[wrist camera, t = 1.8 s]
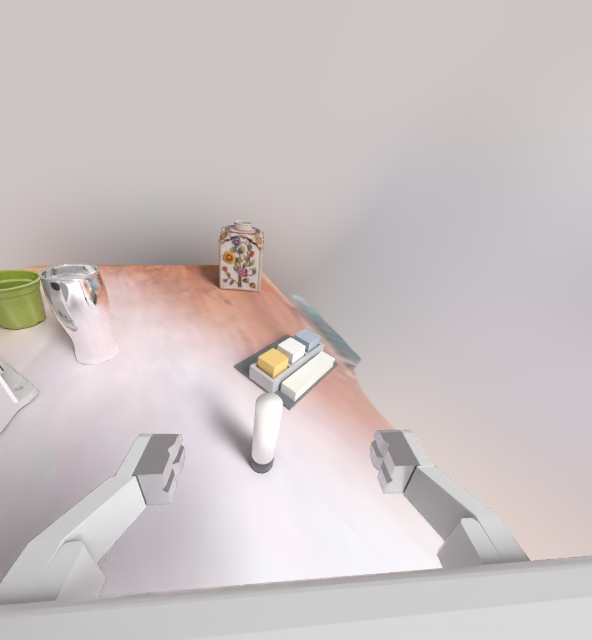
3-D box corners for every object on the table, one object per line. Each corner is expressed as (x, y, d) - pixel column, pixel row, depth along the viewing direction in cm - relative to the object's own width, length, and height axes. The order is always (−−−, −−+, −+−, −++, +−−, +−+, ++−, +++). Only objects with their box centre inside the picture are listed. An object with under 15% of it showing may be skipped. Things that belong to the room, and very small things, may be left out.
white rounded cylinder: (246, 462, 31) (250, 403, 25) (262, 446, 33) (269, 388, 27) (262, 478, 29) (269, 419, 24) (277, 461, 31) (288, 403, 26)
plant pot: (-13, 316, 47) (-38, 273, 42) (54, 305, 53) (38, 266, 48) (-15, 341, 41) (-44, 295, 37) (60, 325, 47) (43, 284, 43)
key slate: (292, 347, 49) (294, 334, 47) (303, 340, 51) (305, 328, 50) (306, 355, 47) (309, 343, 46) (317, 348, 50) (320, 336, 48)
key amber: (257, 370, 42) (258, 356, 40) (271, 360, 44) (273, 347, 43) (272, 381, 40) (274, 367, 39) (286, 371, 43) (288, 357, 41)
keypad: (234, 367, 44) (234, 354, 43) (287, 336, 55) (289, 324, 54) (289, 409, 38) (292, 396, 37) (337, 365, 49) (340, 353, 48)
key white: (276, 357, 45) (277, 344, 44) (288, 349, 48) (290, 337, 46) (291, 367, 44) (293, 354, 42) (303, 358, 46) (305, 346, 45)
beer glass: (112, 336, 47) (89, 259, 39) (130, 353, 44) (109, 274, 36) (66, 352, 42) (29, 268, 34) (82, 372, 39) (45, 285, 31)
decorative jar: (224, 274, 80) (224, 215, 71) (260, 277, 82) (264, 220, 72) (218, 290, 70) (217, 223, 61) (260, 293, 72) (265, 229, 62)
